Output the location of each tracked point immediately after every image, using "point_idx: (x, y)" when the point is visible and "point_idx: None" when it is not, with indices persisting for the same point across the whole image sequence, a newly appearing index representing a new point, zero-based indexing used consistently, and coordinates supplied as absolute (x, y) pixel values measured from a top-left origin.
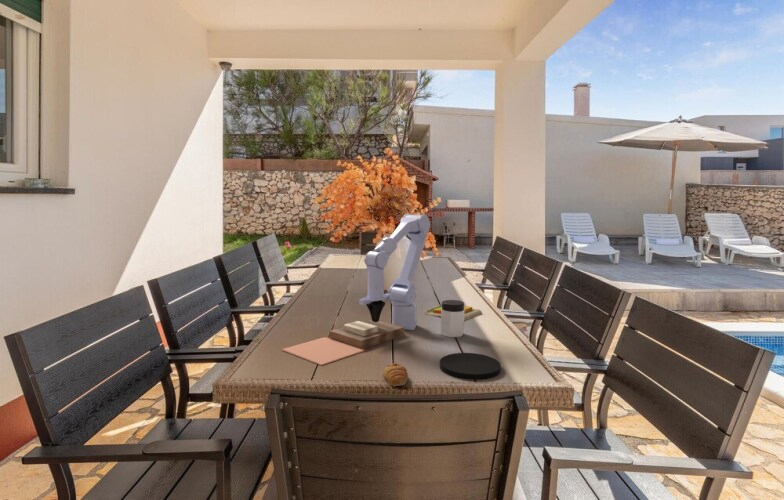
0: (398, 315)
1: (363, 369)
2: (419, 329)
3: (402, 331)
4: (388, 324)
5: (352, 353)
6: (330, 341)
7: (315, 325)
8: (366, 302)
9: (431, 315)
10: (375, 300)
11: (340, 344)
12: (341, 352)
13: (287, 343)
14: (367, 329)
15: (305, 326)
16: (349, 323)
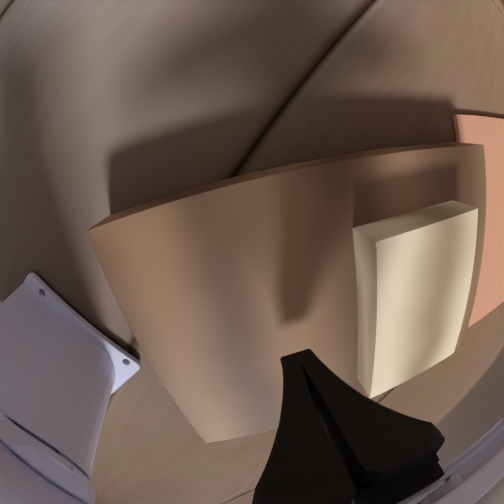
0: (71, 392)
1: (483, 18)
2: (7, 269)
3: (120, 215)
4: (172, 347)
5: (488, 120)
6: None
7: None
8: (488, 446)
9: None
10: (470, 481)
11: None
12: (501, 159)
13: (497, 325)
14: (456, 215)
15: None
16: (429, 365)
